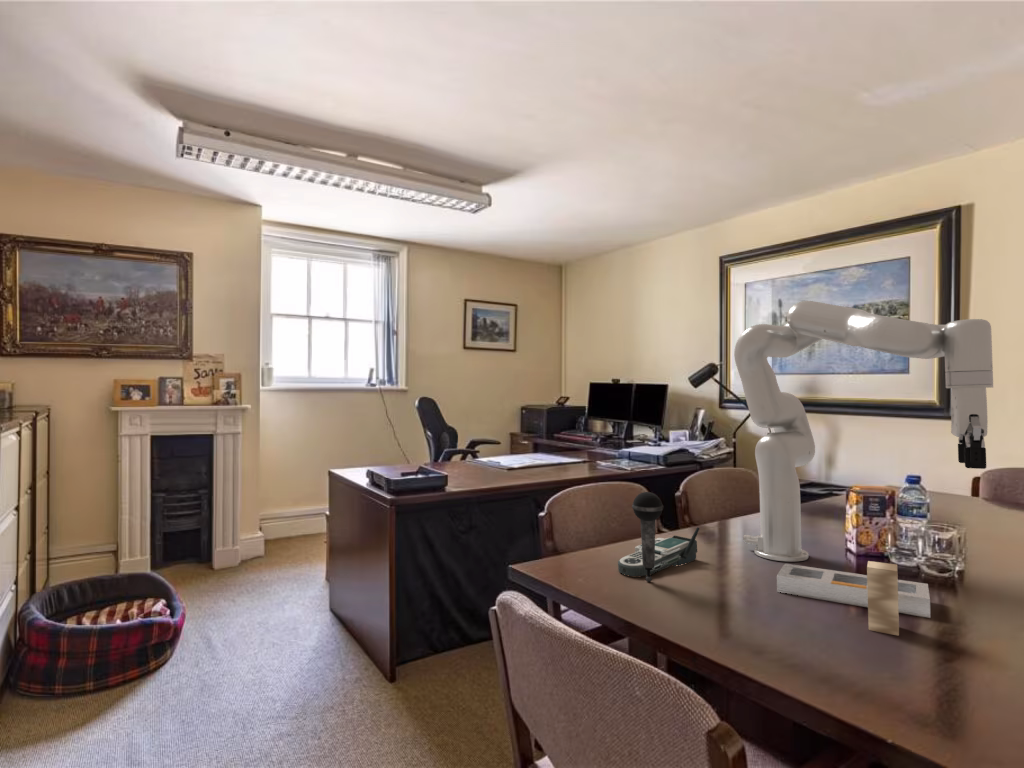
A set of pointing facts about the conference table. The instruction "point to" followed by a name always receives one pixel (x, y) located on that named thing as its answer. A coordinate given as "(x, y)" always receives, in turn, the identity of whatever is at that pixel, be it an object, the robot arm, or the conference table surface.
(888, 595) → the peg
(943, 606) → the conference table surface
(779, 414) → the robot arm
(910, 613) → the white slotted block
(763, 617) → the conference table surface
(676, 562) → the communication device
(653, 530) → the microphone
